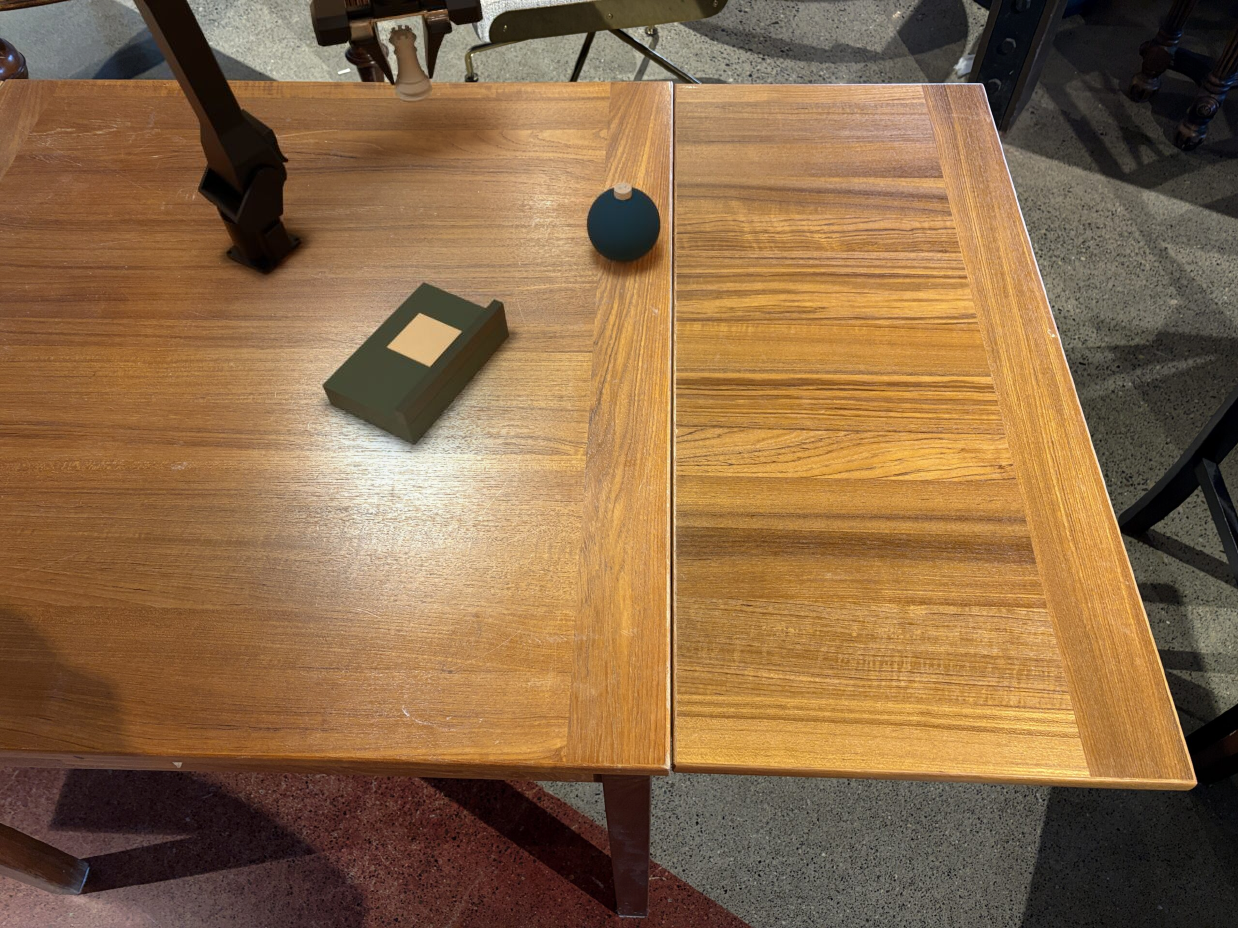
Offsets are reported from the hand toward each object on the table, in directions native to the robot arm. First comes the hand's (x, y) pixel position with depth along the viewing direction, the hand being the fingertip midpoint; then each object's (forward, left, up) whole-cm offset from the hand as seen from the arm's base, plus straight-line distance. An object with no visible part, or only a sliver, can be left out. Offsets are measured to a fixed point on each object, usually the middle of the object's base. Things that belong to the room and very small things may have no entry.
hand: (412, 80), depth 108 cm
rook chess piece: (0, 0, -2) cm, 2 cm away
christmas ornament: (+32, -4, -11) cm, 34 cm away
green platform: (+22, -30, -10) cm, 39 cm away
